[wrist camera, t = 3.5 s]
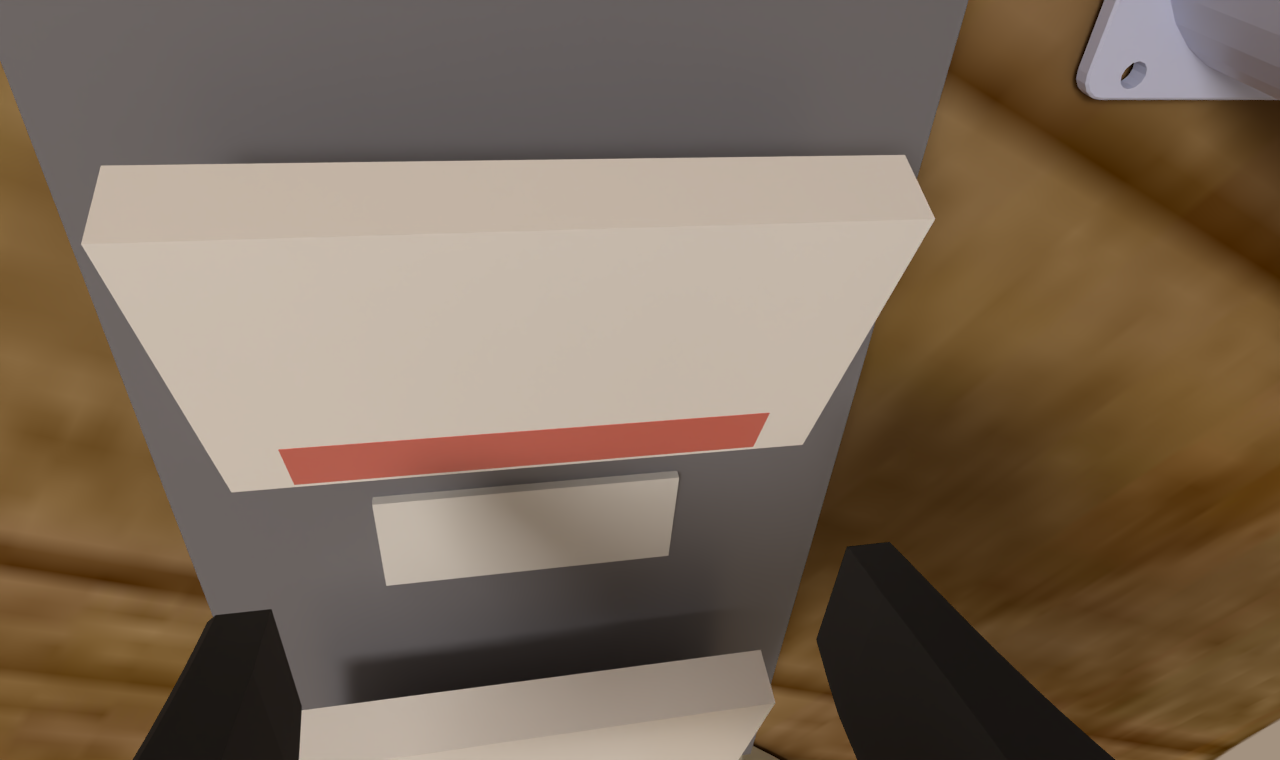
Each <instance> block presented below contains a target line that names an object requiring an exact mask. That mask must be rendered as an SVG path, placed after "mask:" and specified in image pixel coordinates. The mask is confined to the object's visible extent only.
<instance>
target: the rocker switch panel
mask: <svg viewBox="0 0 1280 760" xmlns="http://www.w3.org/2000/svg"><path fill="white" fill-rule="evenodd" d="M967 3H968V0H0V61H1V64H2V66H3V69H4V71H5V74H6V77H7V79H8V82H9V84H10V87H11V90H12V92H13V95H14V98H15V100H16V103H17V105H18V108H19V111H20V113H21V116H22V118H23V121H24V124H25V126H26V129H27V132H28V134H29V137H30V139H31V142H32V145H33V147H34V150H35V152H36V155H37V158H38V160H39V163H40V165H41V168H42V171H43V173H44V176H45V179H46V181H47V184H48V186H49V189H50V192H51V194H52V197H53V199H54V202H55V205H56V207H57V210H58V213H59V215H60V218H61V220H62V223H63V226H64V228H65V231H66V233H67V236H68V239H69V241H70V244H71V247H72V249H73V252H74V254H75V257H76V260H77V262H78V265H79V267H80V270H81V273H82V275H83V278H84V280H85V283H86V286H87V288H88V291H89V294H90V296H91V299H92V301H93V304H94V307H95V309H96V312H97V314H98V317H99V320H100V322H101V325H102V328H103V330H104V333H105V335H106V338H107V341H108V343H109V346H110V348H111V351H112V354H113V356H114V359H115V362H116V364H117V367H118V369H119V372H120V375H121V377H122V380H123V382H124V385H125V388H126V390H127V393H128V396H129V398H130V401H131V403H132V406H133V409H134V411H135V414H136V416H137V419H138V422H139V424H140V427H141V429H142V432H143V435H144V437H145V440H146V443H147V445H148V448H149V450H150V453H151V456H152V458H153V461H154V463H155V466H156V469H157V471H158V474H159V477H160V479H161V482H162V484H163V487H164V490H165V492H166V495H167V497H168V500H169V503H170V505H171V508H172V511H173V513H174V516H175V518H176V521H177V524H178V526H179V529H180V531H181V534H182V537H183V539H184V542H185V544H186V547H187V550H188V552H189V555H190V558H191V560H192V563H193V565H194V568H195V571H196V573H197V576H198V578H199V581H200V584H201V586H202V589H203V592H204V594H205V597H206V599H207V602H208V605H209V607H210V610H211V612H212V615H213V617H214V616H215V615H221V614H230V613H239V612H249V611H258V610H267V609H272V612H273V615H274V619H275V622H276V625H277V628H278V631H279V635H280V638H281V641H282V644H283V647H284V651H285V654H286V657H287V660H288V663H289V667H290V670H291V673H292V676H293V679H294V683H295V686H296V689H297V692H298V695H299V699H300V702H301V705H302V710H309V709H316V708H324V707H331V706H339V705H346V704H354V703H362V702H369V701H377V700H384V699H392V698H399V697H407V696H415V695H422V694H430V693H437V692H445V691H452V690H460V689H468V688H475V687H483V686H490V685H498V684H505V683H513V682H521V681H528V680H536V679H543V678H551V677H558V676H566V675H574V674H581V673H589V672H596V671H604V670H611V669H619V668H627V667H634V666H642V665H649V664H657V663H664V662H672V661H680V660H687V659H695V658H702V657H710V656H717V655H725V654H733V653H740V652H748V651H755V650H761V652H762V656H763V660H764V663H765V667H766V671H767V674H768V678H769V682H770V684H771V681H772V678H773V674H774V671H775V667H776V664H777V660H778V657H779V653H780V650H781V646H782V643H783V640H784V636H785V633H786V629H787V626H788V622H789V619H790V615H791V612H792V608H793V605H794V601H795V598H796V595H797V591H798V588H799V584H800V581H801V577H802V574H803V570H804V567H805V563H806V560H807V557H808V553H809V550H810V546H811V543H812V539H813V536H814V532H815V529H816V525H817V522H818V518H819V515H820V512H821V508H822V505H823V501H824V498H825V494H826V491H827V487H828V484H829V480H830V477H831V474H832V470H833V467H834V463H835V460H836V456H837V453H838V449H839V446H840V442H841V439H842V435H843V432H844V429H845V425H846V422H847V418H848V415H849V411H850V408H851V404H852V401H853V397H854V394H855V391H856V387H857V384H858V380H859V377H860V373H861V370H862V366H863V363H864V359H865V356H866V352H867V349H868V346H869V342H870V339H871V335H872V332H873V328H874V325H875V322H874V324H873V326H872V327H871V329H870V331H869V333H868V334H867V336H866V338H865V339H864V341H863V343H862V344H861V346H860V348H859V350H858V351H857V353H856V355H855V356H854V358H853V360H852V361H851V363H850V365H849V367H848V368H847V370H846V372H845V373H844V375H843V377H842V379H841V380H840V382H839V384H838V385H837V387H836V389H835V390H834V392H833V394H832V396H831V397H830V399H829V401H828V402H827V404H826V406H825V407H824V409H823V411H822V413H821V414H820V416H819V418H818V419H817V421H816V423H815V425H814V426H813V428H812V430H811V431H810V433H809V435H808V436H807V438H806V440H805V442H804V443H803V445H794V446H782V447H770V448H758V449H746V450H734V451H722V452H710V453H698V454H686V455H674V456H662V457H650V458H638V459H626V460H614V461H602V462H590V463H578V464H566V465H554V466H542V467H530V468H518V469H506V470H494V471H482V472H470V473H458V474H446V475H434V476H422V477H411V478H399V479H387V480H375V481H363V482H351V483H339V484H327V485H315V486H303V487H291V488H279V489H267V490H255V491H243V492H231V491H230V489H229V488H228V486H227V484H226V483H225V481H224V479H223V478H222V476H221V474H220V473H219V471H218V469H217V468H216V466H215V465H214V463H213V461H212V460H211V458H210V456H209V455H208V453H207V451H206V450H205V448H204V446H203V445H202V443H201V441H200V440H199V438H198V436H197V435H196V433H195V432H194V430H193V428H192V427H191V425H190V423H189V422H188V420H187V418H186V417H185V415H184V413H183V412H182V410H181V408H180V407H179V405H178V403H177V402H176V400H175V399H174V397H173V395H172V394H171V392H170V390H169V389H168V387H167V385H166V384H165V382H164V380H163V379H162V377H161V375H160V374H159V372H158V370H157V369H156V367H155V366H154V364H153V362H152V361H151V359H150V357H149V356H148V354H147V352H146V351H145V349H144V347H143V346H142V344H141V342H140V341H139V339H138V337H137V336H136V334H135V332H134V331H133V329H132V328H131V326H130V324H129V323H128V321H127V319H126V318H125V316H124V314H123V313H122V311H121V309H120V308H119V306H118V304H117V303H116V301H115V299H114V298H113V296H112V295H111V293H110V291H109V290H108V288H107V286H106V285H105V283H104V281H103V280H102V278H101V276H100V275H99V273H98V271H97V270H96V268H95V266H94V265H93V263H92V262H91V260H90V258H89V257H88V255H87V253H86V252H85V250H84V248H83V247H82V245H81V242H82V238H83V234H84V230H85V226H86V222H87V218H88V214H89V210H90V206H91V203H92V199H93V195H94V191H95V187H96V183H97V179H98V175H99V171H100V167H101V166H106V165H181V164H256V163H331V162H407V161H482V160H557V159H632V158H707V157H782V156H858V155H905V156H906V158H907V160H908V162H909V164H910V167H911V169H912V171H913V173H914V175H915V177H916V179H917V176H918V173H919V169H920V166H921V162H922V159H923V155H924V152H925V148H926V145H927V142H928V138H929V135H930V131H931V128H932V124H933V121H934V117H935V114H936V110H937V107H938V103H939V100H940V97H941V93H942V90H943V86H944V83H945V79H946V76H947V72H948V69H949V65H950V62H951V59H952V55H953V52H954V48H955V45H956V41H957V38H958V34H959V31H960V27H961V24H962V20H963V17H964V14H965V10H966V7H967ZM756 733H757V732H756ZM755 736H756V734H755V735H754V737H753V738H752V740H751V741H750V743H749V744H748V746H747V748H746V749H745V751H744V752H743V754H742V755H747V754H751V750H752V747H753V743H754V740H755Z"/></svg>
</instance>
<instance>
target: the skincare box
mask: <svg viewBox="0 0 1280 760" xmlns="http://www.w3.org/2000/svg"><path fill="white" fill-rule="evenodd" d="M739 760H780V759H778V758H776V757H774V756H772V755H770V754H768V753H766V752H764V751H762V750H760V749H758V748H756V747H754V746H753V747H752V750H751V754H747V755H741V757H740V758H739Z"/></svg>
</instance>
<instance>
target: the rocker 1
mask: <svg viewBox="0 0 1280 760" xmlns="http://www.w3.org/2000/svg"><path fill="white" fill-rule="evenodd" d="M934 220H935V218H934V215H933V213H932V211H931V209H930V207H929V205H928V203H927V201H926V198H925V196H924V194H923V192H922V190H921V188H920V186H919V184H918V181H917V179H916V177H915V175H914V173H913V171H912V169H911V167H910V164H909V162H908V160H907V158H906V156H905V155H858V156H782V157H707V158H632V159H557V160H482V161H407V162H331V163H256V164H181V165H106V166H101V167H100V171H99V175H98V179H97V183H96V187H95V191H94V195H93V199H92V203H91V206H90V210H89V214H88V218H87V222H86V226H85V230H84V234H83V238H82V242H81V245H82V247H83V248H84V250H85V252H86V253H87V255H88V257H89V258H90V260H91V262H92V263H93V265H94V266H95V268H96V270H97V271H98V273H99V275H100V276H101V278H102V280H103V281H104V283H105V285H106V286H107V288H108V290H109V291H110V293H111V295H112V296H113V298H114V299H115V301H116V303H117V304H118V306H119V308H120V309H121V311H122V313H123V314H124V316H125V318H126V319H127V321H128V323H129V324H130V326H131V328H132V329H133V331H134V332H135V334H136V336H137V337H138V339H139V341H140V342H141V344H142V346H143V347H144V349H145V351H146V352H147V354H148V356H149V357H150V359H151V361H152V362H153V364H154V366H155V367H156V369H157V370H158V372H159V374H160V375H161V377H162V379H163V380H164V382H165V384H166V385H167V387H168V389H169V390H170V392H171V394H172V395H173V397H174V399H175V400H176V402H177V403H178V405H179V407H180V408H181V410H182V412H183V413H184V415H185V417H186V418H187V420H188V422H189V423H190V425H191V427H192V428H193V430H194V432H195V433H196V435H197V436H198V438H199V440H200V441H201V443H202V445H203V446H204V448H205V450H206V451H207V453H208V455H209V456H210V458H211V460H212V461H213V463H214V465H215V466H216V468H217V469H218V471H219V473H220V474H221V476H222V478H223V479H224V481H225V483H226V484H227V486H228V488H229V489H230V491H231V492H243V491H255V490H267V489H279V488H291V487H303V486H315V485H327V484H339V483H351V482H363V481H375V480H387V479H399V478H411V477H422V476H434V475H446V474H458V473H470V472H482V471H494V470H506V469H518V468H530V467H542V466H554V465H566V464H578V463H590V462H602V461H614V460H626V459H638V458H650V457H662V456H674V455H686V454H698V453H710V452H722V451H734V450H746V449H758V448H770V447H782V446H794V445H803V443H804V442H805V440H806V438H807V436H808V435H809V433H810V431H811V430H812V428H813V426H814V425H815V423H816V421H817V419H818V418H819V416H820V414H821V413H822V411H823V409H824V407H825V406H826V404H827V402H828V401H829V399H830V397H831V396H832V394H833V392H834V390H835V389H836V387H837V385H838V384H839V382H840V380H841V379H842V377H843V375H844V373H845V372H846V370H847V368H848V367H849V365H850V363H851V361H852V360H853V358H854V356H855V355H856V353H857V351H858V350H859V348H860V346H861V344H862V343H863V341H864V339H865V338H866V336H867V334H868V333H869V331H870V329H871V327H872V326H873V324H874V322H875V321H876V319H877V317H878V315H879V314H880V312H881V310H882V309H883V307H884V305H885V304H886V302H887V300H888V298H889V297H890V295H891V293H892V292H893V290H894V288H895V287H896V285H897V283H898V281H899V280H900V278H901V276H902V275H903V273H904V271H905V269H906V268H907V266H908V264H909V263H910V261H911V259H912V258H913V256H914V254H915V252H916V251H917V249H918V247H919V246H920V244H921V242H922V241H923V239H924V237H925V235H926V234H927V232H928V230H929V229H930V227H931V225H932V223H933V222H934Z"/></svg>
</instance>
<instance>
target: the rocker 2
mask: <svg viewBox="0 0 1280 760" xmlns="http://www.w3.org/2000/svg"><path fill="white" fill-rule="evenodd" d="M774 704H775V700H774V696H773V693H772V689H771V685H770V682H769V678H768V674H767V671H766V667H765V663H764V660H763V656H762V652H761V650H755V651H748V652H740V653H733V654H725V655H717V656H710V657H702V658H695V659H687V660H680V661H672V662H664V663H657V664H649V665H642V666H634V667H627V668H619V669H611V670H604V671H596V672H589V673H581V674H574V675H566V676H558V677H551V678H543V679H536V680H528V681H521V682H513V683H505V684H498V685H490V686H483V687H475V688H468V689H460V690H452V691H445V692H437V693H430V694H422V695H415V696H407V697H399V698H392V699H384V700H377V701H369V702H362V703H354V704H346V705H339V706H331V707H324V708H316V709H309V710H302V714H301V732H300V750H299V760H739V758H740V757H741V755H742V754H743V752H744V751H745V749H746V748H747V746H748V744H749V743H750V741H751V740H752V738H753V737H754V735H755V734H756V732H757V730H758V729H759V727H760V726H761V724H762V723H763V721H764V720H765V718H766V717H767V715H768V713H769V712H770V710H771V709H772V707H773V706H774Z"/></svg>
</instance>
